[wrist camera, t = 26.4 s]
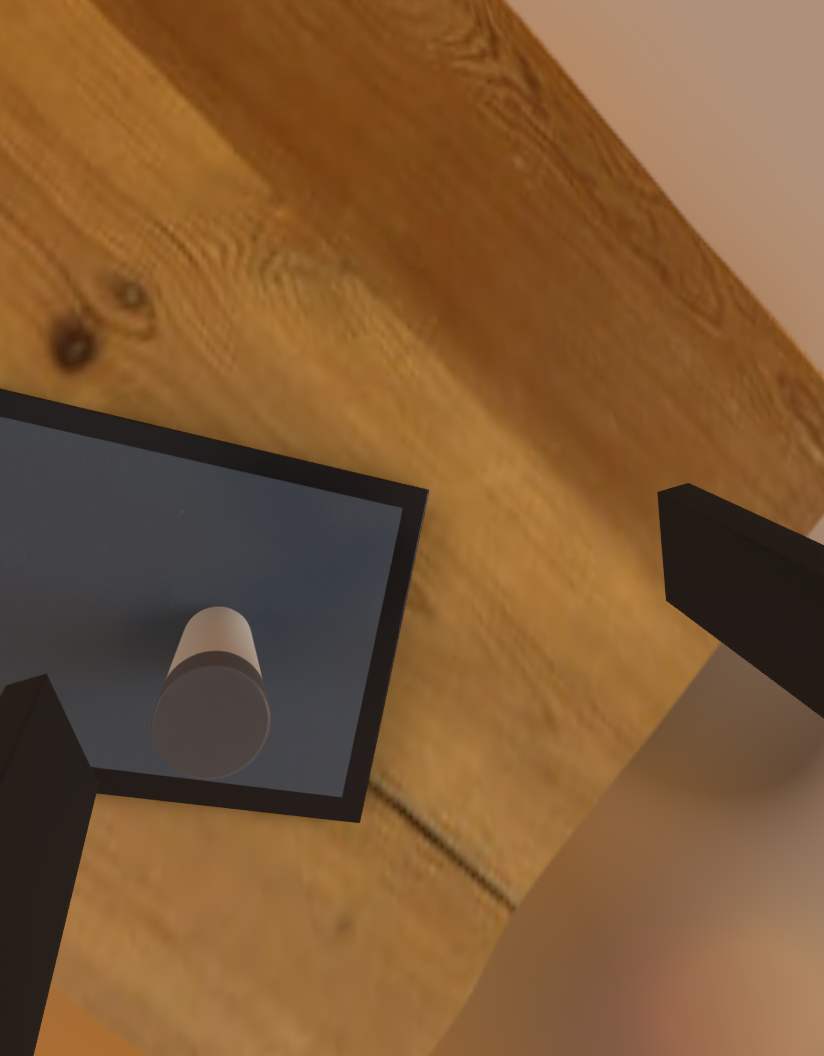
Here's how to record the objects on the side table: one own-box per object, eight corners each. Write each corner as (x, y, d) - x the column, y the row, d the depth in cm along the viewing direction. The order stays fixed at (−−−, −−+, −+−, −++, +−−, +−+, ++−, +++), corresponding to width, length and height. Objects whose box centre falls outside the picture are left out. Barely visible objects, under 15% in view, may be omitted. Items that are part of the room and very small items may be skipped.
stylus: (259, 612, 28) (282, 675, 17) (244, 679, 28) (256, 788, 17) (190, 599, 28) (166, 655, 16) (174, 667, 28) (138, 772, 16)
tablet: (422, 491, 31) (430, 489, 30) (355, 812, 31) (360, 824, 30) (-34, 384, 27) (-46, 377, 26) (-123, 756, 26) (-140, 768, 25)
